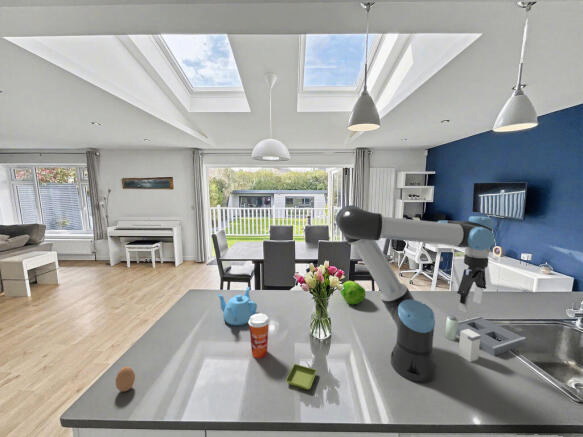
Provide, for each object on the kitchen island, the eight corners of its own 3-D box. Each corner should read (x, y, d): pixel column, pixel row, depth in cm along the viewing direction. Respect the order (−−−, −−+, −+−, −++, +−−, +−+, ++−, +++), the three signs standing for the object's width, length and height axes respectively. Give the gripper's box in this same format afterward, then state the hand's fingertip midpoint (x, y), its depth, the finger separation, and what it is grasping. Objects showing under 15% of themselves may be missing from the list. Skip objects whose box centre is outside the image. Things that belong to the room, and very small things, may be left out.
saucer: (294, 368, 88) (294, 363, 88) (317, 375, 85) (317, 369, 85) (285, 386, 80) (285, 380, 80) (310, 394, 77) (310, 388, 77)
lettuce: (359, 293, 152) (359, 274, 150) (367, 308, 132) (368, 288, 131) (337, 292, 153) (337, 274, 151) (342, 308, 133) (342, 287, 131)
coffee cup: (250, 362, 91) (249, 325, 89) (248, 348, 99) (247, 314, 97) (271, 358, 93) (271, 322, 91) (268, 345, 101) (267, 311, 99)
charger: (469, 362, 91) (472, 337, 90) (458, 354, 95) (460, 330, 94) (478, 359, 93) (480, 335, 91) (466, 351, 97) (468, 328, 96)
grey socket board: (493, 355, 95) (494, 347, 94) (450, 330, 111) (450, 323, 111) (525, 345, 101) (526, 337, 101) (479, 322, 118) (480, 316, 118)
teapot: (216, 316, 124) (215, 293, 123) (249, 306, 135) (249, 285, 133) (227, 332, 110) (226, 307, 109) (263, 320, 120) (263, 297, 119)
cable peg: (451, 341, 104) (453, 320, 102) (443, 336, 107) (444, 316, 106) (458, 339, 105) (460, 319, 104) (449, 334, 109) (451, 314, 107)
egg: (137, 389, 79) (136, 367, 78) (119, 399, 75) (116, 376, 74) (133, 380, 82) (131, 359, 81) (114, 390, 78) (112, 368, 77)
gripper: (474, 262, 84) (467, 319, 87) (500, 254, 98) (493, 303, 101) (451, 257, 91) (445, 310, 93) (478, 249, 104) (472, 296, 107)
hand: (470, 306), depth 97 cm, fingers open, 13 cm apart
